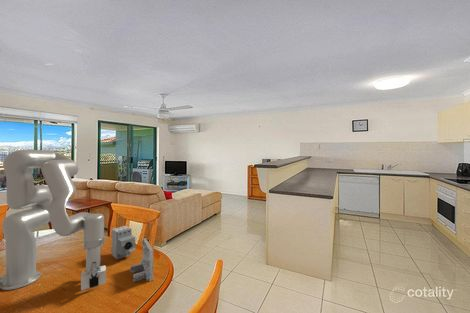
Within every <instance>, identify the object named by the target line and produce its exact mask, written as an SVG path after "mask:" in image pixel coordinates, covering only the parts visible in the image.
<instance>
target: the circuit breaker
mask: <svg viewBox="0 0 470 313" xmlns="http://www.w3.org/2000/svg"><path fill="white" fill-rule="evenodd" d="M132 230H133V229H132V228H131V227H129V226H127V225H122V226H119V227H115V228H112V229H111V232H110V233H111V235H110V236H111V251H110V252H111V256H112V257H113V258H115V259H116V260H120V259H122V258H125V256H126V257H129V256H131V255H132V252H134V251H136V237H135V236H134V235H132V232H133V231H132ZM124 255H125V256H124Z"/></svg>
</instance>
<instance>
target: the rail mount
mask: <svg viewBox="0 0 470 313" xmlns="http://www.w3.org/2000/svg"><path fill="white" fill-rule="evenodd" d="M129 271H130V274H133V276H132V282H133V283H135V282H139V281H143V280H145V281H146V282H147V281H148V282H152V281H154V249H153V248H152V246H151V244H150V242H149V241H148V239H147V237H146V238H142V259H140V263H138V264H134V265H130V270H129Z"/></svg>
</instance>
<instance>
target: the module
mask: <svg viewBox="0 0 470 313" xmlns="http://www.w3.org/2000/svg"><path fill="white" fill-rule="evenodd" d="M96 269H97V268H96ZM91 270H92V269H91ZM80 273H81V274H80V291H85V290H88V289H91V288H93V287H91V288H90V287H89V278H90V272H88V273H86V269H85V270H82V271H81V272H80ZM98 276H99V281H98V286H101V285H105V284H106V283H107V267H106V265H100V269H99V270H98Z"/></svg>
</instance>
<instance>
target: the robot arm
mask: <svg viewBox="0 0 470 313" xmlns="http://www.w3.org/2000/svg"><path fill="white" fill-rule="evenodd" d="M2 164H3V171H4V175H5V180H6V181H5V182H6V185H5V186H6V187H5V188H6V204H7V207H8V208H10V209H11V210H22V209H25V210H22V211H18V212H15V213H12V214H9V215H8V216H7V217H5V218H4V219H3V220H2V222H1V229H2V234H3V236H4V243H5V247H4V248H5V274H3V275H1V276H0V289H1V290H3V291H12V290H16V289H21V288H23V287H25V286H29V285H31V284H33V283H34V282H36V281H37V280H39V279H40V278H41V275H42V273H41V271H38V270H37V240H36V239H37V238H36V236H35V235H34V234H33V233H32V231H33V230H35V229H37V228H40V227H43V226H45V225H47V224H49V223H50V224H51V226H52V229H53V230H54V231H55V233H56V234H57V235H58V236H60V237H69V236H72V235H74V234H75V233H78V232H80V231H82V230H83V249H84V250H85V252H86V253H85V270H86V273H88V272H90V278H89V287H90V288H89V289H91V287H92V288H94V287H95V288H96V287H98V286H99V285H98V281H99V276H98V270H99V269H100V266H101V255H102V253H101V252H102V250H101V249H102V246H104V244H105V216H104V214H102V213H90V212H85V211H84V212H82V211H81V212H78V213H75V214H72V215H70V216H69V215H68V213H67V209H66V205H67V203H68V200H69V199H70V198H71V196H73V195H74V194H75V193H76V191H77V188H76V186H75V184H74V182H73V179H72V177H74V176H76V175H77V174H78V172H79V166H78V164H77V162H76V161H74V160H73V159H71V158H70V157H68V156H65V155H63V154H61V153H59V152H56V151H54V150H48V149H21V150H14V151H12V152H10V153H8V154H7V155H6V156H5V158H4V160H3V163H2ZM30 169H32V170H34V169H40V171H41V173H42V177H43V179H44V181H45V183H46V185H47V186H46V185H43V184H36V185H35V184H34V182H35V178H34V175H33V173H32V172H31V171H30ZM27 208H29V209H27ZM96 268H97V269H96ZM91 269H92V270H91Z"/></svg>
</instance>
